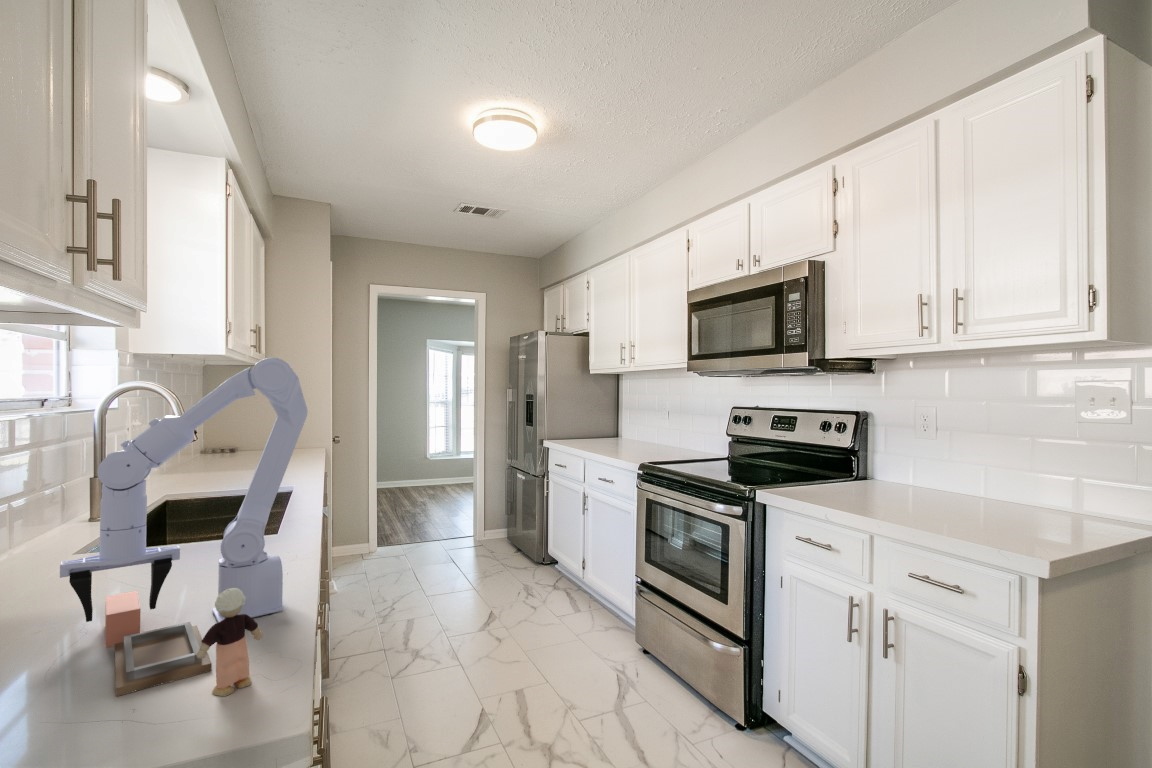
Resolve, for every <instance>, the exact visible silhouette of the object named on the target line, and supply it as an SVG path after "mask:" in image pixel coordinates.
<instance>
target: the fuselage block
mask: <svg viewBox="0 0 1152 768" xmlns="http://www.w3.org/2000/svg"><path fill="white" fill-rule="evenodd" d="M140 604H141V603H140V598H139V593H138V590H135V591H134V590H133V591H129V592H123V593H117V594H112V595H111V594H110V595H107V596H106V595H105V613H104V614H105V619H104V620H105V622H104V623H105V624H104V625H105V627H104V629H105V630H104V631H105V633H104V634H105V649H108V648H112V647H115V644H116V643H120V642H124V636H128V635H132V634H137V633H141V605H140Z"/></svg>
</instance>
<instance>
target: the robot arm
mask: <svg viewBox="0 0 1152 768" xmlns="http://www.w3.org/2000/svg"><path fill="white" fill-rule="evenodd" d="M254 389H257V390H258V391H259V392H260V393H261V394H262V395H263V396H265V397H266V398H267V399H268V402H269V403H270V405H271V407H272V408H273V411H274V412H275V413H276V418H275V421H274V422H273V425H272V429H271V430H270V434H269V436H268V438H267V441H266V444H265V446H264V448H263V451H262V454H261V455H260V459H259V460H258V461H259V462H258V463H257V466H256V469H255V471H254V473H253V476H252V477H251V478H252V479H251V481H250V484H249V486H248V489H247V491H246V494H245V496H244V499H243V500H242V503H241V506H240V507H239V510H238V512H237V515H236V516H235V518H234V519H232V521H230V522H229V523H228V524H227V526H226V527H225V529H224V531H223V535H222V536H223V539H222V541H221V543H220V554H221V558H219V559H218V578H217V579H218V581H217V582H218V583H217V585H218V588H217V589H218V591H217V592H218V593H217V595H218V596H219V594H220V593H222V592H223V591H225V590H226V589H231V588H238V589H240V590H241V591H242V592H243V594H244V596H245V597H246V600H245V604H244V605H243V606H242V608H241V611H240V612H239V613H238V614H237V615H240V614H246V615H248V616H250V617H251V618H252V619H253V618H257V617H261V616H266V615H269V614H273V613H279V612H282V611H283V610H284V606H283V585H284V582H283V578H284V576H283V575H284V573H283V563H282V559H281V557H280V555H276V554H275V555H268V553H267V551H265V550H264V549H265V545H266V543H265V542H266V541H265V530H266V527H267V524H268V521H269V517H270V513H271V510H272V508H273V504H274V502H275V499H276V497H277V494H278V493H279V489H280V486H281V484H282V481H283V479H284V476H285V473H286V471H287V468H288V466H289V464H290V461H291V458H292V456H293V453H294V450H295V448H296V445H297V443H298V440H299V438H300V434H301V432H302V430H303V428H304V425H305V423H306V419H307V417H308V413H309V411H308V407H307V403H306V400H305V396H304V394H303V390H302V387H301V382H300V378H299V377H298V374H297V373H296V372H295V371H294V369H293V368H292V367H291V365H290V364H289V363H288V362H287V361H285V360H283V358H278V357H273V356H272V357H266V358H262V359H260V360H258V362H256V363H255V364H254V366H253V367H252V368H251V366H249V367H247V368H245V369H243V370H241V371H240V372H238V373H236V374H234V375H233V376H230V377H229V378H227V379H226V380H224V381H223V382H222V383H221V384H220V385H218V386H217V387H216V388H214V389H213V390H212V391H210V392H209V393H207V395H205V396H204V397H202V398H201V399H200V400H199V401H198V402H196V403H195V404H194V405H192V406H190V408H188V409H187V410H185V411H184V412H183V413H182V414H181V415H178V416H177V415H164V416H163V417H162V418H157V417H155V418H153V419H152V420H151V421H149V422H148V425H149V427H148V428H146V429H145V430H143V431H142V432H141V433H140V434H138V435H137V436H135V437H133V438H132V439H131V440H130V441H129V440H128V439H126V440H124V441H123V442H121V444H120V446H121V448H122V450H119V451H114V452H111V453H108V454H107V455H106V457H105V458H104V459H103V460H102V461H101V462H100V464H98V468H97V477H98V480H99V481H100V483H101V499H100V504H99V505H100V508H99V509H100V512H99V516H100V517H99V554H97V555H92V556H87V557H81V558H77V559H71V560H63V561H60V563H59V578H68V577H69V580H68V581H69V584H70V586H71V588H72V589H73V590H74V592H75V593H76V595H77V597H78V599H79V601H80V603H81V605H82V608H83V612H84V616H85V622H86V623H88V622H92V621H93V613H94V612H93V601H92V600H93V599H92V583H93V582H92V581H93V578H92V575H93V573H94V572H100V571H105V570H114V569H119V568H124V567H131V566H139V565H143V564H144V565H146V564H150V568H151V570H150V573H151V574H150V583H151V584H150V592H149V598H148V599H149V603H148V604H149V610H154V609H157V603H158V598H159V595H160V592H161V590H162V586H163V584H164V583H165V580H166V578H167V576H168V575H169V573H170V571H171V570H172V566H173V561H178V560H180V559H181V548H180V545H172V546H161V547H149V548H147V522H148V521H147V519H148V518H147V517H148V516H147V513H148V495H147V480H146V478H147V477H148V476H149V475H150V474H151V471H152V469H157V468H160V467H161V466H163V464H164V463H166V462H168V461H169V460H170V459H171V458H173V457H174V456H175V455H177V454H178V453H179V452H181V451H182V450H183V449H185V448H186V447H187V446H188V445H189V446H190V444H191V443H192V442H194V439H195V430H196V429H197V428H198V427H200V426H201V425H202V424H204V423H206V422H207V421H208V420H210V419H211V418H213V416H215V415H216V414H218V413H219V412H221V411H222V410H224V409H225V408H227V407H228V406H229V405H230V404H233V403H234V402H235V401H236V400H239V399H242V398H243V399H244V398H249V397H251V396H256V392H255V391H254ZM218 596H217V597H218ZM211 610H212V614H213V615H214V618H215V619H216V623H218V622H220V621H222V620H224V619H225V617H222V616H221V615H220V613H219V612H218V611H217V610H216V607H215V606H214V607H213V608H212V609H211Z"/></svg>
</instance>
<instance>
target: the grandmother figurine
mask: <svg viewBox="0 0 1152 768" xmlns="http://www.w3.org/2000/svg"><path fill="white" fill-rule="evenodd" d="M245 600H246V597H245V596H244V594H243V592H242V591H241V590H240V589H238V588H231V589H226V590H225V591H223V592H222V593H220V594H219V596H217V598H216V600H215V602H214V608H215V607H216V610H217V611H218V612H219V613H220V615H221V616H222V617H225V619H224V620H222V621H220V622H216V623H215V624H213V625H212V626H211V627H210V628H209V629H208V630H207V632H206V633H205V634H204V637H202V641H201V642H202V643H201V646H200V650H199V651H198V652H197V655H196V656H197V658H199V659H202V658H204V657H205V656H206V654H207V653H208V651H209V649H210V648H211V647H212V646H213V645H215V644H216V646H215V659H216V660H215V680H216V681H215V682H216V686H215V687H214V688H213V689H212V692H211V694H212V695H215V696H218V697H226V696H228V695H231V694H233V693H235V689H234V687H233V686H232V685H234V686H235V688H237V689H242V688H246V687H249V686H250V685H251V684H252V680H251V679H252V678H251V676H250V674H251V673H250V657H249V652H248V644H247V638H246V631H249V632H250V633H251V635H252V636H253V639H255V641H256V640H257V641H259V640H262V638H263V636H264V634H263V632H262V631H261V628H260V627H259V623H258V622H256V620H254V619H253V618H251V617H250V616H248V615H246V614H240V615H237V614H238V613H239V612H240V611H241V608H242V606H243V605H244V604H245Z"/></svg>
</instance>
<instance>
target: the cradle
mask: <svg viewBox="0 0 1152 768" xmlns="http://www.w3.org/2000/svg"><path fill="white" fill-rule="evenodd" d="M202 639H203V637H202V635H201V633H200V629H199V627H198V625H193V626H192V623H191V622H190V621H188V622H183V623H179V624H173V625H169V626H165V627H164V626H163V627H161V628H156V629H152V630H148V631H142V632H141V631H140V633H137V634H132V635H128V636H124V642H120V643H116V644H115V646H114V669H115V670H114V671H115V672H114V675H115V677H114V678H115V697H119V696H123V695H127V694H130V693H129V692H131V693H133V692H132V691H134V692H136V691H135V690H138V691H141V690H140V689H142V690H144V689H145V690H146V689H148V687H149V688H152V687H151V686H153V687H155V686H154V685H156V686H159V685H158V684H160V685H162V684H161V683H164V684H167V683H170V681H171V682H174V681H177V680H182V679H185V678H189V677H192V676H197V675H200V674H205V673H207V672H208V673H209V672H211V671H212V668H213V667H212V666H213V665H212V664H213V663H212V660H211V658H210V656H209V653H208V652H207V654H206V656H205V657H204V658H202V659H199V658H197V656H196V655H197V652H198V651H199V650H200V646H201V643H202V642H201V641H202ZM166 682H167V683H166ZM126 693H127V694H126Z"/></svg>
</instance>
